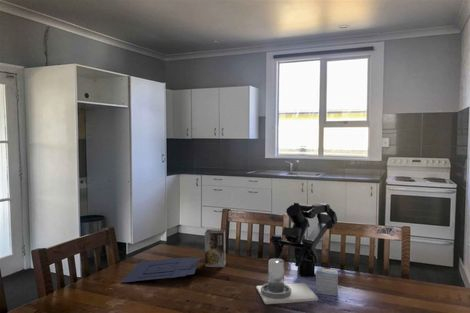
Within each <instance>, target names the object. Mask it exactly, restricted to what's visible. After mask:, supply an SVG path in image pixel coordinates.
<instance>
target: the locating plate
mask: <svg viewBox="0 0 470 313" xmlns="http://www.w3.org/2000/svg"><path fill="white" fill-rule="evenodd" d="M255 287H256V290H257V292H258V294H259V296H260V297H261V299H262V301H263V303H264V304H265V305H274V304H287V303H289V304H290V303H291V304H292V303H301V302H302V303H303V302H314V301H315V302H318V301H319V297H318V296H317V295H316V293H314V291H313V290H312V289H311V288H310V287H309V286H308V285H307V284H306V283H305V282H300V283H299V282H297V283H296V282H295V283H284V288H286V289H287V292H286V293H283V294H273V293H269V292H267V291H266V288H267V287H268V282H267V283H264V284H262V285H256V286H255Z"/></svg>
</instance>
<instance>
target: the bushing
mask: <svg viewBox="0 0 470 313" xmlns="http://www.w3.org/2000/svg"><path fill="white" fill-rule="evenodd" d="M267 270H268V272H267V273H268V275H267V276H268V277H267V278H268V279H267V283H268V287H267V288H266V291H267V292H269V293H273V294H283V293H286V292H287V289H286V288H284V284H285V260H284V259H281V258H278V259H275V258H270V259H269V260H268V269H267Z"/></svg>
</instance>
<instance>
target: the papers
mask: <svg viewBox="0 0 470 313" xmlns="http://www.w3.org/2000/svg"><path fill="white" fill-rule="evenodd" d="M201 258H202V257H178V258H177V257H176V258H168V259H167V258H166V259H156V260H155V259H153V260H150V261H144V262H143V261H140V262H138V263H137V264H136V265H135V267H134V268H133V269H132V270H131V271H130V273H129V274H128V275H126V277H125V278H124V279H123V280H121V282H120V283H122V284H123V283H132V282H139V281H149V280H150V281H151V280H158V279H171V278H179V277H186V276H190V275H194V274H195V273H196V271H197V267H198V265H199V263H200V261H201Z"/></svg>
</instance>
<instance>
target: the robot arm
mask: <svg viewBox="0 0 470 313" xmlns="http://www.w3.org/2000/svg"><path fill="white" fill-rule="evenodd" d="M285 212H286V215H287V217H288V218H289V220H290V221H291V223H292V224H293V225H292V227H288V226H283V228H282V232H281V235H282V236H284V239H283V238H282V236H281V235H280V236H279V235H275V234H272V235H271V237H270V238H269V241H270V242H271V244H272V245H273V247H274V259H280V255H281V254H282V253H283V248H284V246H286V247H289V248H290V247H292V248H294V250H293V253H294V258H295V260H296V261H295V264H294V266H295V267H296V268H297V270H296V272H297V274H298V275H299V276H300V277H301V278H313V277H315V278H316V270H315V269H316V268H315V267H316V264H318V261H319V255H318V252H317V245H318V244H319V242H320V241H321V239H322V238H323V237H324V235H325V234H326V232H327V231H328V230H330V229H333V228H334V227H335V226H336V225H337V223H338V217H337V214H336V211H334V209H332V208H331V206H330V204H327V203H321V202H319V203H315V204H306V203H305V204H304V203H298V202H294V203H293V204H291V205H290V206H288V207H287V208H286V210H285ZM315 217H316V218H317V221H318V223H317V225H316V226H315V227H314V228H313V230H312V231H311V233H310V234H309V235H308V236H307V237H306V235H305V234H306V231H307V229H308V228H310V222H309V220H308V219H315Z"/></svg>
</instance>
